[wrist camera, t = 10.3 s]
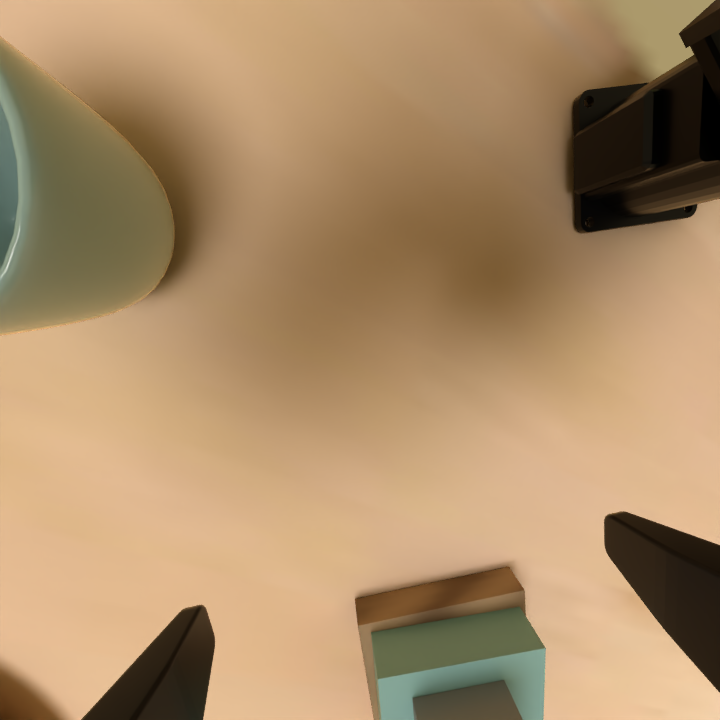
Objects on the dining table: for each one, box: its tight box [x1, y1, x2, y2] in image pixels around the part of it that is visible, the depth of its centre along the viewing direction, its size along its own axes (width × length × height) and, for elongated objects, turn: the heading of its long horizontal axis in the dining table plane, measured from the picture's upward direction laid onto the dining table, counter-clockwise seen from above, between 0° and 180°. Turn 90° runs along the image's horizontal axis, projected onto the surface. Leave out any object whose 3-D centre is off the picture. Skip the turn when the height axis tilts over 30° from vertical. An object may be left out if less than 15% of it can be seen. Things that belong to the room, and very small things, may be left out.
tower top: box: [371, 607, 546, 720], centre depth 20 cm, size 9×9×2 cm
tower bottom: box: [355, 567, 526, 720], centre depth 23 cm, size 10×10×2 cm
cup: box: [0, 36, 175, 336], centre depth 12 cm, size 8×8×10 cm
